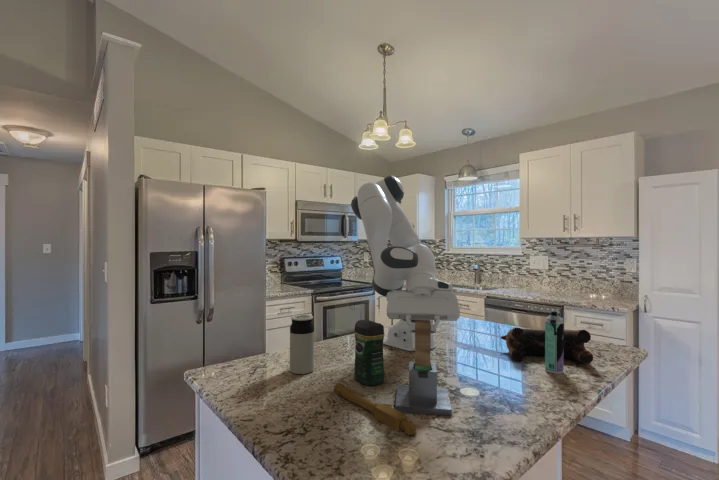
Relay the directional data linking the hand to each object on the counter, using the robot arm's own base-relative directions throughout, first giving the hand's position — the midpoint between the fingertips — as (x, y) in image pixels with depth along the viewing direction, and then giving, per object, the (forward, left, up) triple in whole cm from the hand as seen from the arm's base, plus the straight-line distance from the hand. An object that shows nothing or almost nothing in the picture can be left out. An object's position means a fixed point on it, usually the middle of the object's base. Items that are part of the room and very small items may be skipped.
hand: (423, 331), depth 98 cm
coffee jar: (-20, +4, -19) cm, 28 cm away
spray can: (+26, +48, -19) cm, 57 cm away
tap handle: (-9, -12, -20) cm, 25 cm away
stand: (0, +1, -19) cm, 19 cm away
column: (0, +1, -13) cm, 13 cm away
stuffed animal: (+20, +66, -20) cm, 72 cm away
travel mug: (-43, -2, -19) cm, 47 cm away
